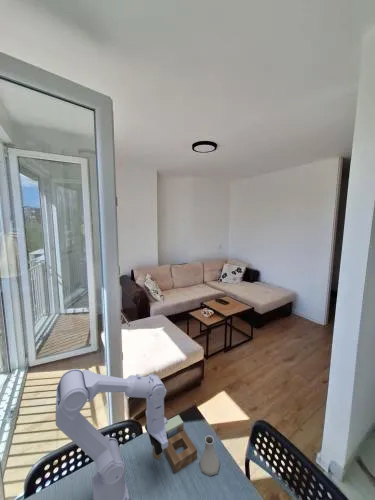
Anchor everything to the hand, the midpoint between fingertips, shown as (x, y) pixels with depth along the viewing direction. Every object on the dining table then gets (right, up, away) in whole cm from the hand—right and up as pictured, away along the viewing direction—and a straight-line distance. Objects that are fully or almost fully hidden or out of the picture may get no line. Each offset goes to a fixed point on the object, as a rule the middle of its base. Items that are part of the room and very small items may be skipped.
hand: (156, 448), depth 76 cm
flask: (+18, -7, +1) cm, 19 cm away
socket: (+8, -7, +5) cm, 11 cm away
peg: (0, -3, 0) cm, 3 cm away
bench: (+4, -6, +11) cm, 13 cm away
